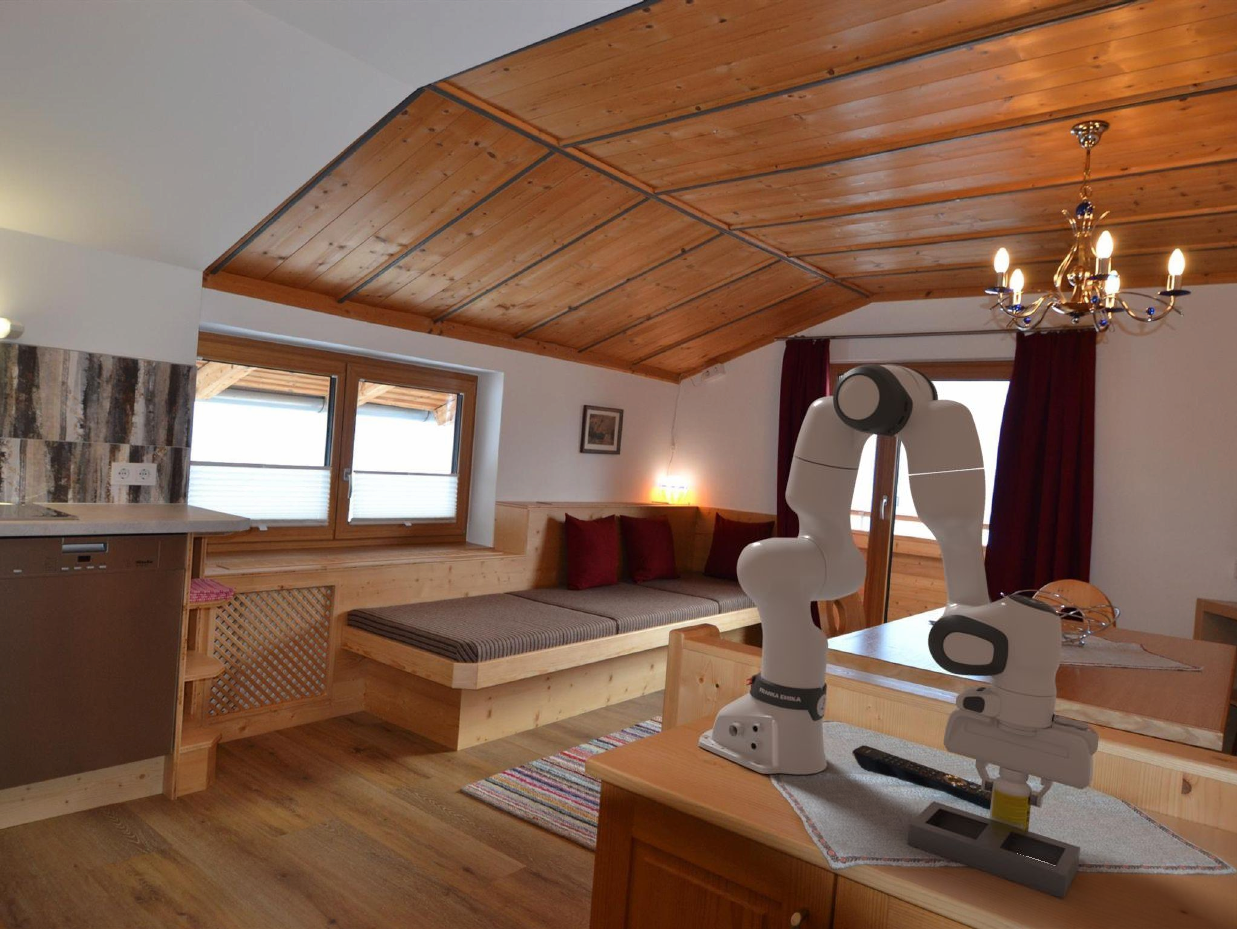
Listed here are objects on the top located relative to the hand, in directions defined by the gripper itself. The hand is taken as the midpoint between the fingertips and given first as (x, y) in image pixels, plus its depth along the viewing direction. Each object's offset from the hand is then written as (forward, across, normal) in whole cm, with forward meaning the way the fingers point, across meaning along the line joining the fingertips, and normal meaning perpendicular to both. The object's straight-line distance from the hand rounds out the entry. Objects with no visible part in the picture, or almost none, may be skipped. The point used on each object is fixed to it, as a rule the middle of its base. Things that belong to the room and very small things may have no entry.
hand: (1011, 798), depth 130 cm
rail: (+5, 0, +10) cm, 11 cm away
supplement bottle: (+5, 0, 0) cm, 5 cm away
